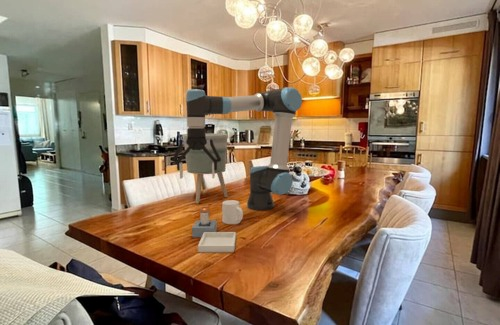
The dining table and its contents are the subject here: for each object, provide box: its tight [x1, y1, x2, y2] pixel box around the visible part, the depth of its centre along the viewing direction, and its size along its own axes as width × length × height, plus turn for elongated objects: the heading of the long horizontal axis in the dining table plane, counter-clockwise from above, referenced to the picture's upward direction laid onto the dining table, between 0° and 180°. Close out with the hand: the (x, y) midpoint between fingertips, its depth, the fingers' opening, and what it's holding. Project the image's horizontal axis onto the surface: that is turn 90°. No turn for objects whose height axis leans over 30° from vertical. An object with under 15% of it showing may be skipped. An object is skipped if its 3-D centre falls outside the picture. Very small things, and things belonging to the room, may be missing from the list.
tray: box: [197, 231, 237, 253], centre depth 106 cm, size 13×13×2 cm
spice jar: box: [199, 206, 210, 226], centre depth 117 cm, size 4×4×11 cm
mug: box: [221, 199, 244, 225], centre depth 131 cm, size 12×9×8 cm
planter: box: [183, 133, 229, 204], centre depth 170 cm, size 26×26×40 cm
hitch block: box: [191, 219, 218, 238], centre depth 117 cm, size 9×9×4 cm
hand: (197, 178), depth 118 cm, fingers open, 13 cm apart
